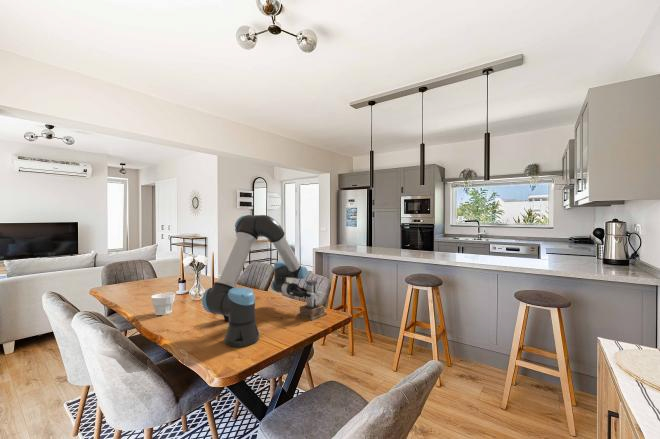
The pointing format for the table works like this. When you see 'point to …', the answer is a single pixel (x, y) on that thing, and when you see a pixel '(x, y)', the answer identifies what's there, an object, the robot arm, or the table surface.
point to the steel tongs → (311, 288)
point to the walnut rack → (312, 312)
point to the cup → (163, 303)
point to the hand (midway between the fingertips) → (318, 295)
